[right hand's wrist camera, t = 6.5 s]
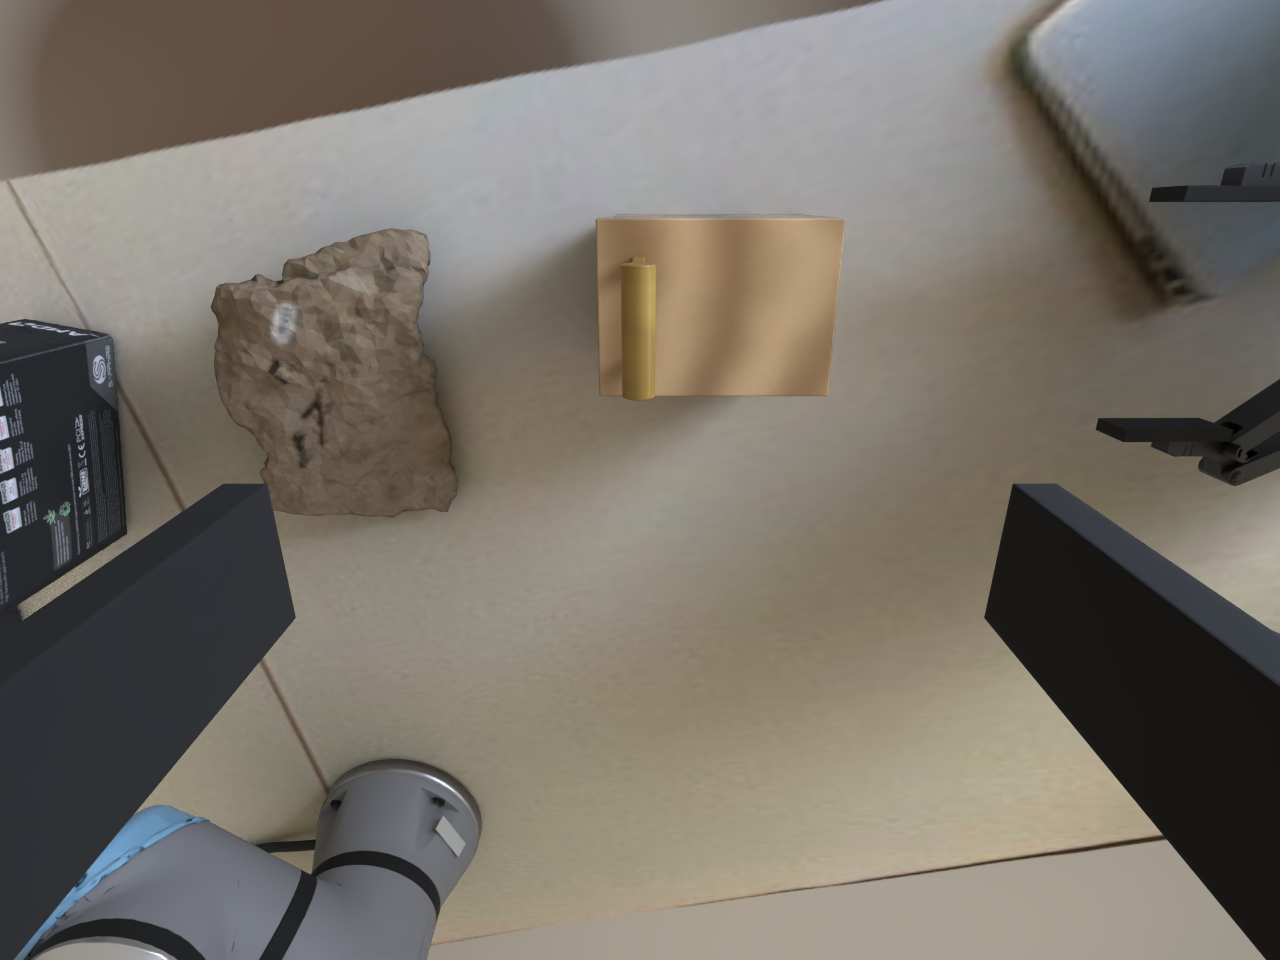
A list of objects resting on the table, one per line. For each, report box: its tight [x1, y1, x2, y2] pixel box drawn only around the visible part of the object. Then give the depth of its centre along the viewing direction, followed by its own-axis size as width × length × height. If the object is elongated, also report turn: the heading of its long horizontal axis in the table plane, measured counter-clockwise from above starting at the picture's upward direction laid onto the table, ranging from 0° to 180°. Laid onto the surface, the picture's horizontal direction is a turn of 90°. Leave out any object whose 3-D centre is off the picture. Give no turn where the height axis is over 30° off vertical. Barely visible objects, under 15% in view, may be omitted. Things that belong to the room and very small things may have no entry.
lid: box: [596, 218, 845, 400], centre depth 37 cm, size 14×10×9 cm
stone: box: [211, 229, 458, 517], centre depth 50 cm, size 21×15×6 cm
